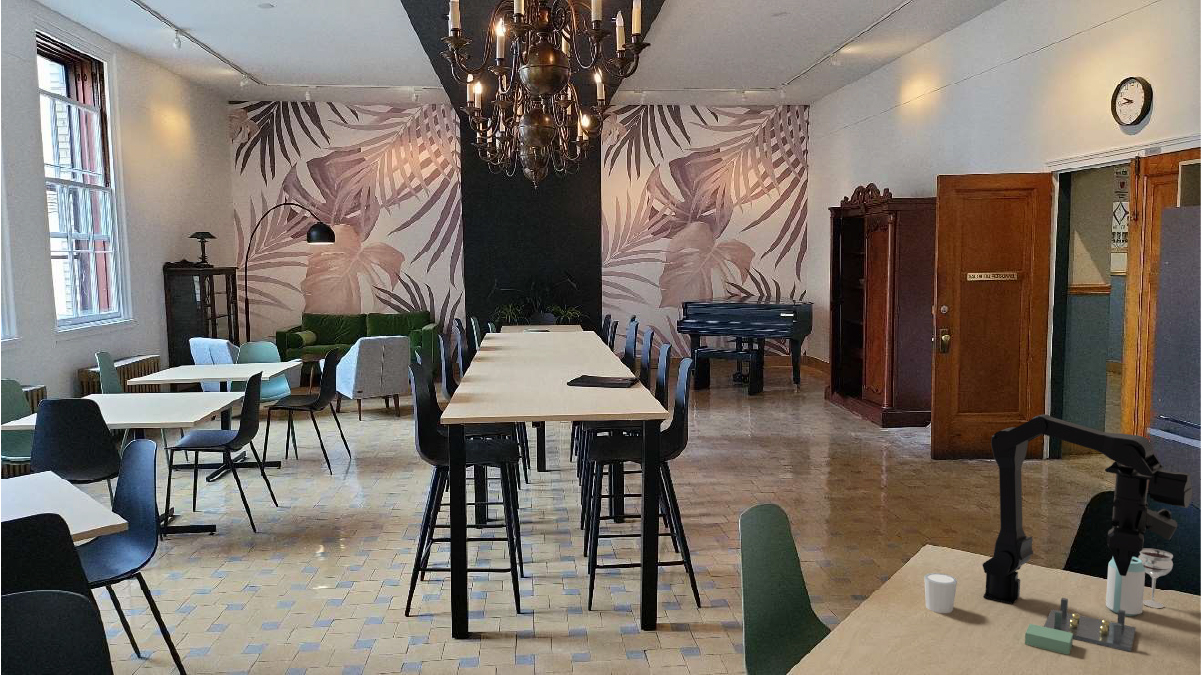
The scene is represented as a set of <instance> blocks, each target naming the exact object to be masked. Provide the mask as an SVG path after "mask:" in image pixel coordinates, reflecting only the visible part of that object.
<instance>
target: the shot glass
mask: <svg viewBox="0 0 1201 675" xmlns="http://www.w3.org/2000/svg"><path fill="white" fill-rule="evenodd" d="M923 579H924V591H925V592H924V594H925V595H924V596H925V608H926V609H928V610H929V611H931V612H934V613H938V614H950V613H952V612H953V611H954V603H955V597H956V589H957V584H958V580H957V578H955V577H954V576H953V575H949V574H946V573H940V572H939V573H938V572H931V573H927V574H925V575H924V577H923Z"/></svg>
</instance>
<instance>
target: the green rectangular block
mask: <svg viewBox="0 0 1201 675" xmlns="http://www.w3.org/2000/svg"><path fill="white" fill-rule="evenodd" d="M1024 634H1025V636H1024V645H1025V644H1028V645H1027V646H1029V645H1031V646H1030V647H1033V646H1036V647H1035V648H1038V647H1039V649H1042V650H1043V649H1044V650H1047V651H1051V652H1055V653H1059V654H1063V655H1064V654H1065V655H1070V652H1071V650H1072V647H1073V641H1074V639H1073V633H1070V632H1065V631H1061V630H1056V629H1052V628H1047V627H1044V625H1043V626H1042V625H1038V624H1033V623H1029V625H1028V626H1027V628H1026V631H1025V632H1024Z"/></svg>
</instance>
